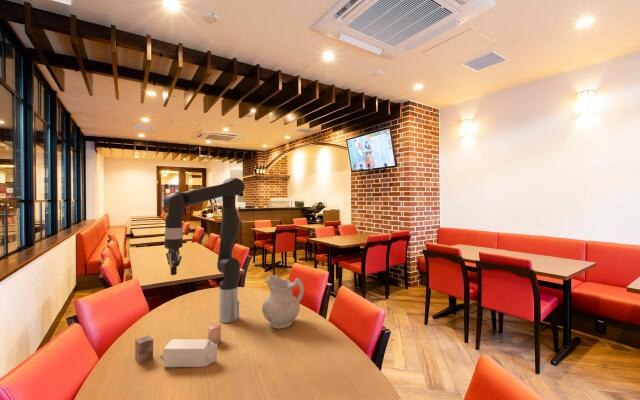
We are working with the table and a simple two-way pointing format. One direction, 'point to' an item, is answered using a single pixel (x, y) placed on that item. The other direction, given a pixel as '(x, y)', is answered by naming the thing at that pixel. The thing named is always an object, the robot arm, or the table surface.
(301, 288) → the ceramic pitcher
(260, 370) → the table surface
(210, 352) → the milk carton
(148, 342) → the wooden block
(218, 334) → the pink rounded glossy part
